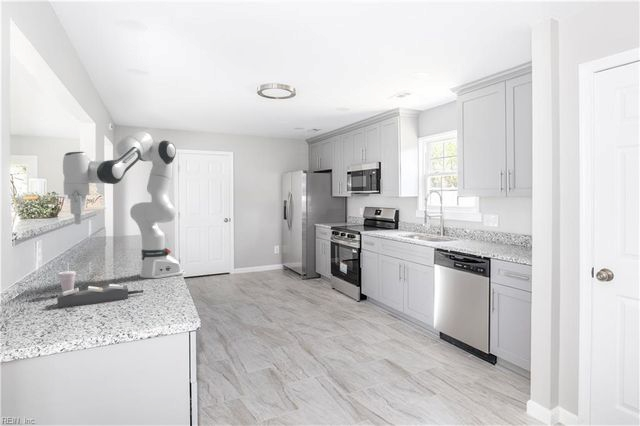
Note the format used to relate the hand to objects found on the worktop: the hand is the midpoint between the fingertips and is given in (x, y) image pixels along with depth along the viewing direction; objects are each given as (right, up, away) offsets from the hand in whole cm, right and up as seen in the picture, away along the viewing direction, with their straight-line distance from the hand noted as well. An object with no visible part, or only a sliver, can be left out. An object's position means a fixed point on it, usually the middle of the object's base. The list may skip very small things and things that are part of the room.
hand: (78, 224), depth 152 cm
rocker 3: (+16, -27, 0) cm, 31 cm away
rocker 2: (+9, -27, -4) cm, 29 cm away
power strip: (+11, -31, -1) cm, 33 cm away
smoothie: (-9, -31, +7) cm, 33 cm away
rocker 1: (+3, -28, -8) cm, 29 cm away
